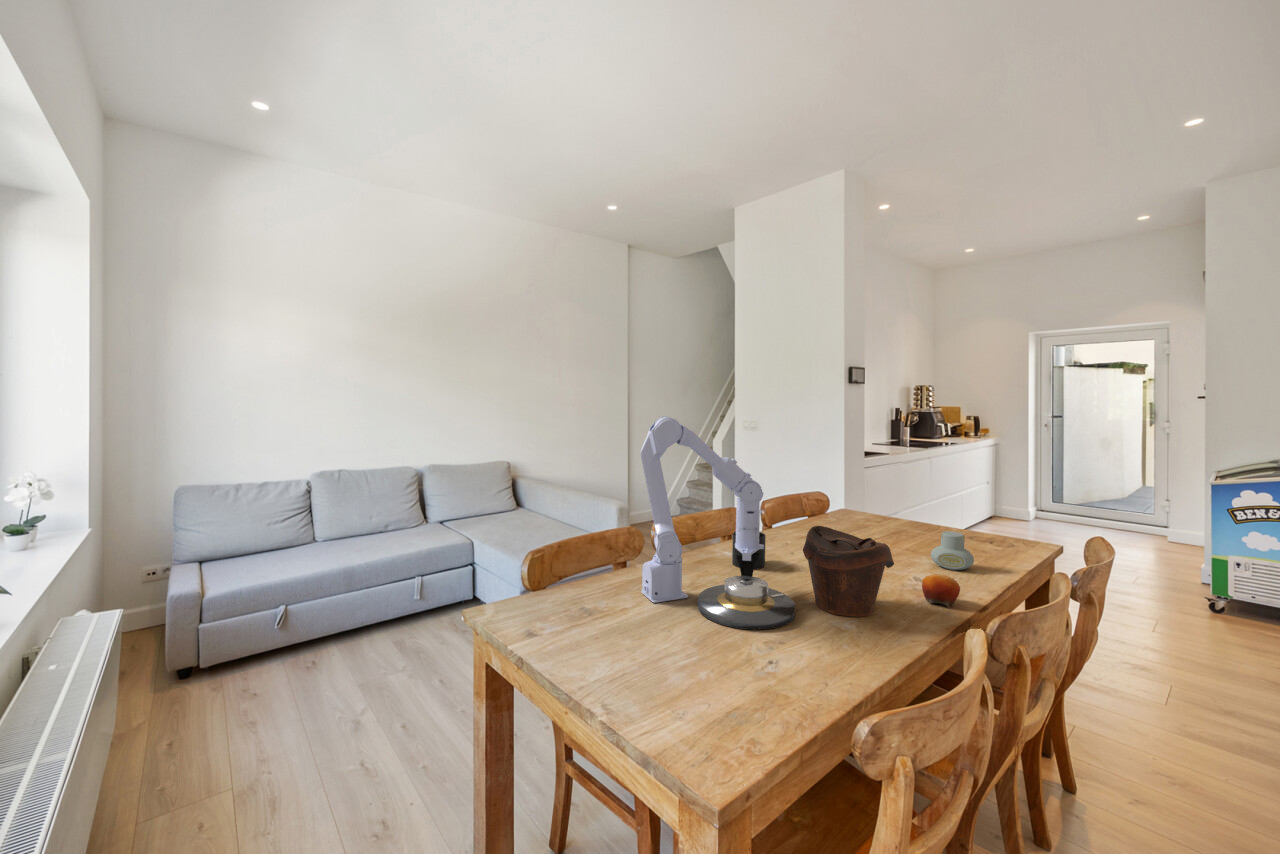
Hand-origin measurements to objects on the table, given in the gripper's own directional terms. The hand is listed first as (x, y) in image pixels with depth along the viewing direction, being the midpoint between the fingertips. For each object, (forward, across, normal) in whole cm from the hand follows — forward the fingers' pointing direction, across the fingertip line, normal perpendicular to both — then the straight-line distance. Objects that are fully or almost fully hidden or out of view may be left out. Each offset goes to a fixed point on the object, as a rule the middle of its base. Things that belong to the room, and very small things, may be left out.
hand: (746, 580), depth 134 cm
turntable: (+3, -10, 0) cm, 11 cm away
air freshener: (+4, +36, -58) cm, 69 cm away
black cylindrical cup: (+4, +26, -1) cm, 26 cm away
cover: (+1, -8, 0) cm, 8 cm away
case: (+4, -3, -23) cm, 23 cm away
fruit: (+4, +5, -46) cm, 46 cm away
